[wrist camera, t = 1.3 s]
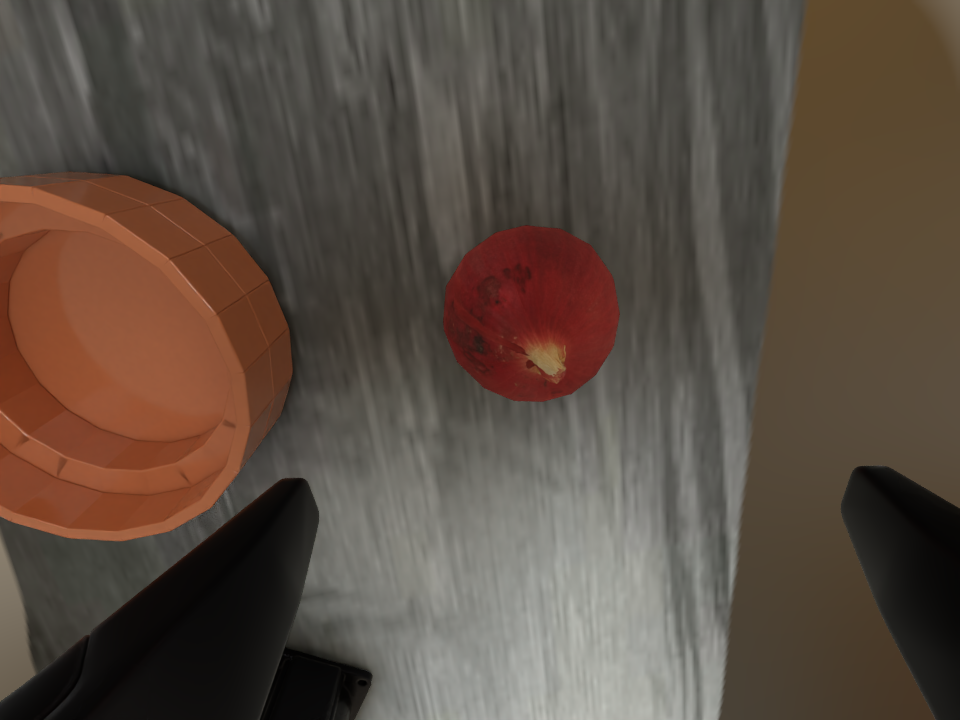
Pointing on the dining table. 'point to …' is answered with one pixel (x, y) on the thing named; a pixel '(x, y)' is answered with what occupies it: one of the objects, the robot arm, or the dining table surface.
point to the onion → (531, 313)
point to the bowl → (127, 356)
